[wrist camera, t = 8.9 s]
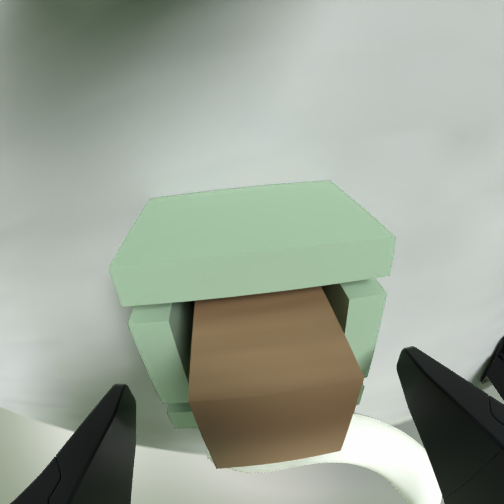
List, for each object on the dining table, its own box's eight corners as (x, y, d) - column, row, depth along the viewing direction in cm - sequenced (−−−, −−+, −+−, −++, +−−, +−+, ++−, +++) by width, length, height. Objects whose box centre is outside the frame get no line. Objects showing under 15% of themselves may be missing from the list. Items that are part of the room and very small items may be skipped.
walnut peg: (290, 295, 16) (340, 450, 8) (213, 304, 16) (216, 468, 8) (289, 224, 14) (364, 376, 7) (201, 233, 14) (187, 401, 6)
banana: (210, 381, 19) (222, 609, 6) (422, 394, 23) (485, 523, 10) (195, 419, 21) (200, 603, 8) (392, 425, 25) (440, 546, 12)
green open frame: (330, 180, 14) (395, 236, 8) (324, 320, 17) (358, 404, 12) (150, 198, 13) (108, 268, 8) (182, 337, 17) (174, 428, 12)
